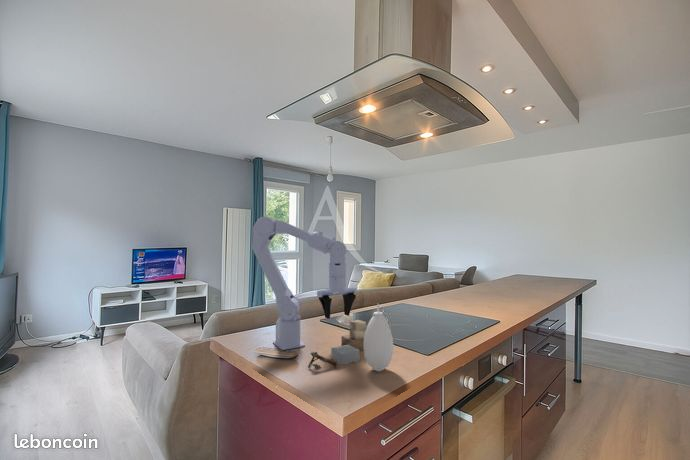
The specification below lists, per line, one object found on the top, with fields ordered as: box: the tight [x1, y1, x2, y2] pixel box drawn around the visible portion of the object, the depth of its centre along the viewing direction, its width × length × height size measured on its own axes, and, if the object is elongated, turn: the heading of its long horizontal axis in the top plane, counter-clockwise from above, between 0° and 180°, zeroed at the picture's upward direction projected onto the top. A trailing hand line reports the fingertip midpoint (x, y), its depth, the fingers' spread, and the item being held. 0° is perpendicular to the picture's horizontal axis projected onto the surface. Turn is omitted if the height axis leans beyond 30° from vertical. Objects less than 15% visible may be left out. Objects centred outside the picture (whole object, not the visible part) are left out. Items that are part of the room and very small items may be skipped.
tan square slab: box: [340, 334, 364, 352], centre depth 104 cm, size 8×8×3 cm
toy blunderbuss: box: [307, 351, 339, 370], centre depth 86 cm, size 2×8×4 cm, turn 98°
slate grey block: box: [330, 345, 360, 366], centre depth 92 cm, size 6×6×3 cm
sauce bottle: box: [363, 302, 394, 372], centre depth 85 cm, size 8×8×18 cm
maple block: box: [349, 319, 367, 340], centre depth 105 cm, size 4×4×5 cm
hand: (337, 316), depth 106 cm, fingers open, 7 cm apart
